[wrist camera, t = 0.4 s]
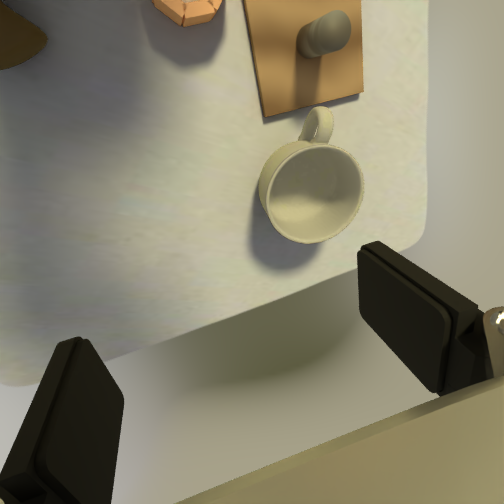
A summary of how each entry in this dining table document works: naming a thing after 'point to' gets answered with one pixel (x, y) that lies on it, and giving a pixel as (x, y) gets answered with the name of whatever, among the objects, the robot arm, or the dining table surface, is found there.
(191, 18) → the ring
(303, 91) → the post plate
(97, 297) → the dining table surface
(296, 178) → the teacup
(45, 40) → the kendama
